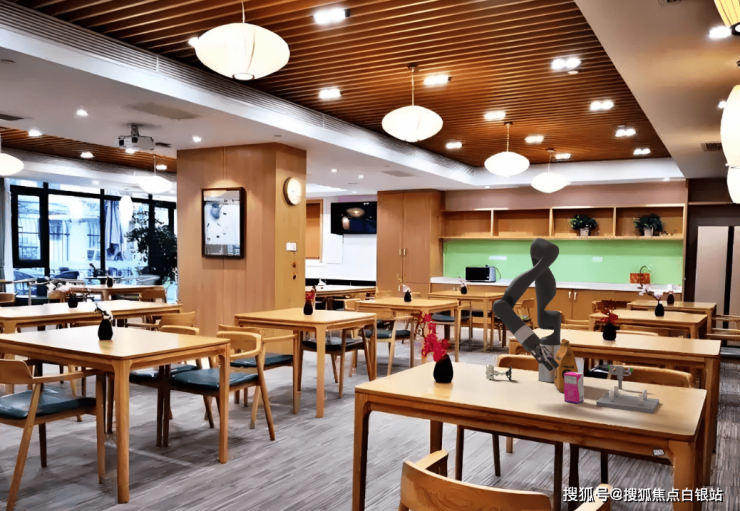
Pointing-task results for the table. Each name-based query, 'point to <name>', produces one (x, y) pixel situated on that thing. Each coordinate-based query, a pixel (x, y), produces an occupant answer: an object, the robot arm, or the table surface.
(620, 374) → the mechanical component
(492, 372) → the valve
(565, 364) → the coffee package
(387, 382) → the table surface
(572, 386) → the supplement box
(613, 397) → the peg cradle
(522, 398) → the table surface
